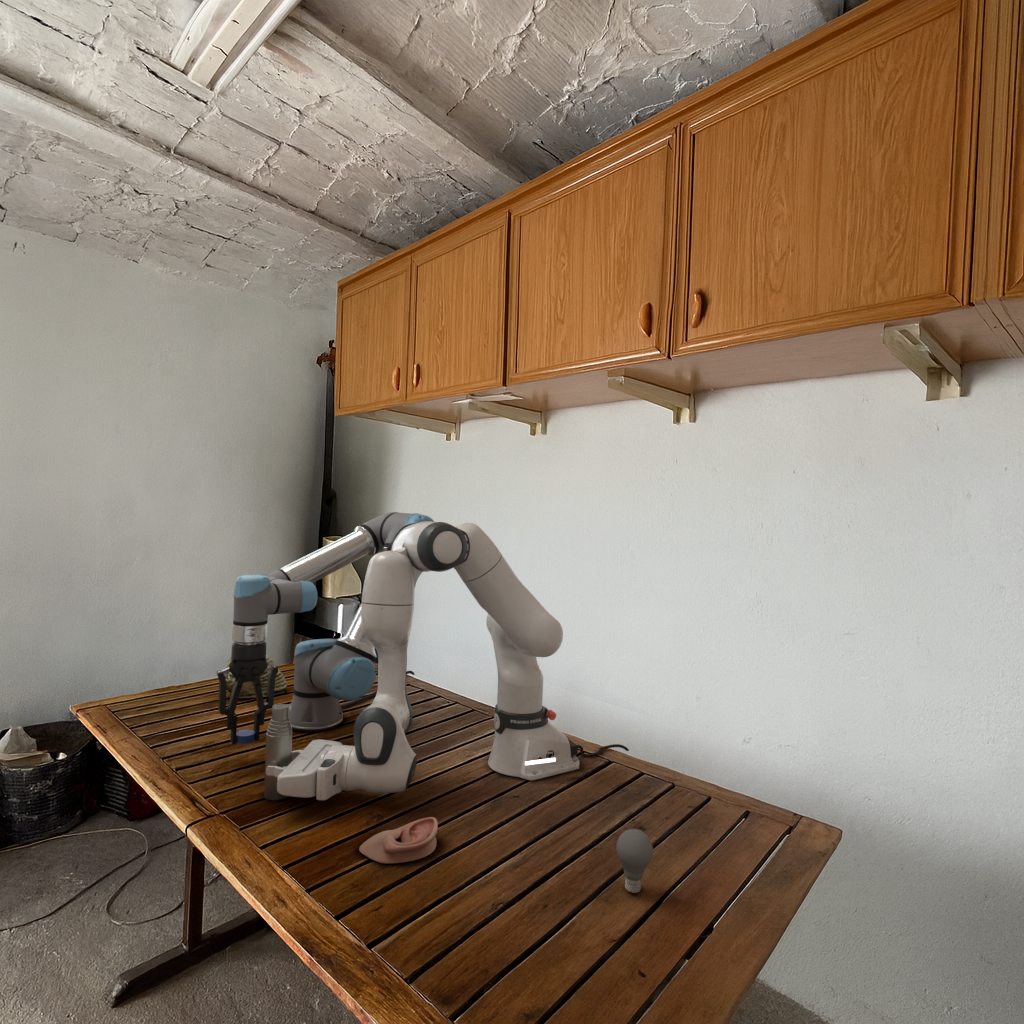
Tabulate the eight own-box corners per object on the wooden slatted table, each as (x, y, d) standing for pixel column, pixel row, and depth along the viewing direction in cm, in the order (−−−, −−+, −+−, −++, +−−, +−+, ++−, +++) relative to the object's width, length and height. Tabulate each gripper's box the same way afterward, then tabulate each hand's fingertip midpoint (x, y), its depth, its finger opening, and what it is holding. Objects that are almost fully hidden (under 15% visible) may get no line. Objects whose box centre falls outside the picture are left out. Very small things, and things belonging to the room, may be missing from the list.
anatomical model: (352, 836, 111) (378, 805, 123) (351, 858, 111) (377, 826, 123) (423, 847, 109) (444, 815, 120) (422, 870, 109) (443, 836, 120)
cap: (255, 736, 151) (255, 728, 151) (255, 742, 147) (255, 735, 147) (234, 737, 150) (234, 730, 150) (234, 744, 146) (234, 737, 146)
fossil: (218, 695, 195) (220, 647, 195) (278, 685, 208) (279, 640, 207) (228, 703, 189) (230, 653, 188) (289, 692, 201) (290, 645, 201)
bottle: (295, 792, 135) (298, 704, 135) (278, 802, 131) (282, 711, 130) (275, 787, 137) (278, 700, 137) (258, 797, 132) (261, 707, 132)
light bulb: (610, 879, 108) (613, 822, 108) (644, 879, 109) (647, 822, 109) (619, 902, 102) (622, 840, 102) (655, 901, 103) (658, 840, 103)
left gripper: (211, 648, 140) (206, 752, 141) (291, 642, 150) (286, 740, 150) (206, 641, 147) (201, 741, 147) (283, 635, 156) (279, 730, 156)
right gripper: (354, 734, 143) (294, 730, 144) (322, 772, 123) (252, 768, 124) (352, 761, 143) (293, 757, 144) (321, 805, 123) (251, 800, 124)
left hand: (244, 740), depth 149 cm, fingers closed on cap, 4 cm apart
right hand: (274, 762), depth 134 cm, fingers closed on bottle, 5 cm apart
